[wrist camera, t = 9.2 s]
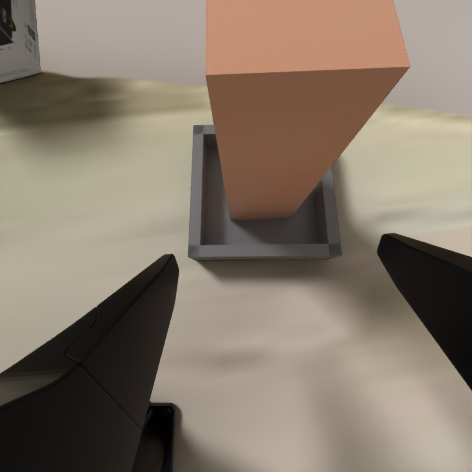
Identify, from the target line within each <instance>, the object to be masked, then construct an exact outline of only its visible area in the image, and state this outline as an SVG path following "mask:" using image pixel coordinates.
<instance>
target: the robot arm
mask: <svg viewBox="0 0 472 472" xmlns="http://www.w3.org/2000/svg"><path fill="white" fill-rule="evenodd" d="M377 253H378V256H379V258H380V260H381V261H382V263H383V265H384V267H385V268H386V270H387V272H388V274H389V275H390V277H391V279H392V280H393V282H394V284H395V285H396V287H397V288H398V290H399V291H400V292H401V294H402V295H403V297H404V298H405V299H406V301H407V302H408V303H409V305H410V306H411V308H412V309H413V310H414V312H415V313H416V315H417V316H418V317H419V319H420V320H421V321H422V323H423V324H424V326H425V327H426V328H427V330H428V331H429V332H430V334H431V335H432V337H433V338H434V339H435V341H436V342H437V343H438V345H439V346H440V348H441V349H442V350H443V352H444V353H445V354H446V356H447V357H448V359H449V360H450V361H451V363H452V364H453V365H454V367H455V368H456V370H457V371H458V372H459V374H460V375H461V377H462V378H463V379H464V381H465V382H466V383H467V385H468V386H469V388H470V389H471V390H472V257H470V256H467V255H463V254H460V253H457V252H454V251H451V250H447V249H444V248H441V247H438V246H434V245H431V244H428V243H425V242H422V241H418V240H415V239H412V238H409V237H406V236H402V235H399V234H396V233H388V234H384V235H382V237H381V240H380V243H379V246H378V249H377ZM178 277H179V268H178V265H177V262H176V258H175V256H174V255H173V254H165V255H163V256H162V257H160V258H159V259H158V260H156V261H155V262H154V263H152V264H151V265H150V266H149V267H147V268H146V269H145V270H143V271H142V272H141V273H139V274H138V275H137V276H135V277H134V278H133V279H132V280H130V281H129V282H128V283H126V284H125V285H124V286H122V287H121V288H120V289H118V290H117V291H116V292H114V293H113V294H112V295H111V296H109V297H108V298H107V299H105V300H104V301H103V302H101V303H100V304H99V305H98V306H97V307H95V308H93V309H92V310H91V311H90V312H88V313H87V314H86V315H84V316H83V317H82V318H80V319H79V320H78V321H76V322H75V323H74V324H72V325H71V326H69V327H68V328H66V329H65V330H64V331H62V332H61V333H59V334H58V335H56V336H55V337H54V338H52V339H51V340H49V341H48V342H46V343H45V344H43V345H42V346H40V347H39V348H37V349H36V350H34V351H33V352H32V353H30V354H29V355H27V356H26V357H24V358H23V359H21V360H20V361H18V362H17V363H15V364H14V365H12V366H11V367H10V368H8V369H6V370H5V371H3V372H2V373H0V472H173V450H174V429H175V406H174V404H172V403H151V402H150V397H151V393H152V389H153V385H154V382H155V378H156V374H157V370H158V366H159V362H160V359H161V355H162V351H163V347H164V343H165V339H166V336H167V332H168V328H169V324H170V320H171V317H172V313H173V309H174V305H175V299H176V292H177V284H178ZM167 409H170V410H171V413H168V412H167Z"/></svg>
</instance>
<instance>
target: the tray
mask: <svg viewBox="0 0 472 472" xmlns="http://www.w3.org/2000/svg"><path fill="white" fill-rule="evenodd" d="M341 255H342V252H341V244H340V235H339V227H338V218H337V210H336V201H335V193H334V184H333V176H332V167H330V169H329V170H328V171H327V173H326V174H325V175H324V176H323V178H322V179H321V180H320V181H319V183H318V184H317V185H316V186H315V188H314V189H313V190H312V192H311V193H310V194H309V195H308V197H307V198H306V199H305V200H304V202H303V203H302V204H301V205H300V207H299V208H298V209H297V210H296V212H295V213H294V214H293V216H292V217H291V218H289V219H255V220H230V216H229V210H228V204H227V198H226V192H225V187H224V181H223V175H222V169H221V163H220V157H219V151H218V145H217V139H216V134H215V128H214V125H194V127H193V151H192V175H191V199H190V223H189V247H188V257H189V258H192V259H194V260H280V259H329V258H333V257H337V256H341Z"/></svg>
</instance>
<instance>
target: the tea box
mask: <svg viewBox="0 0 472 472" xmlns="http://www.w3.org/2000/svg"><path fill="white" fill-rule="evenodd" d="M37 73H41V69H40V56H39V47H38V34H37V19H36V13H35V0H0V83H2V82H6V81H10V80H14V79H18V78H22V77H26V76H30V75H34V74H37Z"/></svg>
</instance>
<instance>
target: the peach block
mask: <svg viewBox="0 0 472 472" xmlns="http://www.w3.org/2000/svg"><path fill="white" fill-rule="evenodd" d="M409 68H410V64H409V60H408V56H407V52H406V48H405V44H404V40H403V36H402V32H401V28H400V25H399V20H398V17H397V13H396V9H395V5H394V1H393V0H206V81H207V86H208V92H209V98H210V104H211V110H212V116H213V122H214V128H215V134H216V139H217V145H218V151H219V157H220V163H221V169H222V175H223V181H224V187H225V192H226V198H227V204H228V210H229V216H230V220H255V219H289V218H291V217H292V216H293V214H294V213H295V212H296V210H297V209H298V208H299V207H300V205H301V204H302V203H303V202H304V200H305V199H306V198H307V197H308V195H309V194H310V193H311V192H312V190H313V189H314V188H315V186H316V185H317V184H318V183H319V181H320V180H321V179H322V178H323V176H324V175H325V174H326V173H327V171H328V170H329V169H330V167H331V166H332V165H333V164H334V162H335V161H336V160H337V159H338V157H339V156H340V155H341V154H342V152H343V151H344V150H345V149H346V147H347V146H348V145H349V143H350V142H351V141H352V140H353V138H354V137H355V136H356V135H357V133H358V132H359V131H360V130H361V128H362V127H363V126H364V124H365V123H366V122H367V121H368V119H369V118H370V117H371V116H372V114H373V113H374V112H375V111H376V109H377V108H378V107H379V106H380V104H381V103H382V102H383V100H384V99H385V98H386V96H387V95H388V94H389V93H390V92H391V90H392V89H393V88H394V87H395V85H396V84H397V83H398V82H399V80H400V79H401V78H402V76H403V75H404V74H405V73H406V71H407V70H408V69H409Z"/></svg>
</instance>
